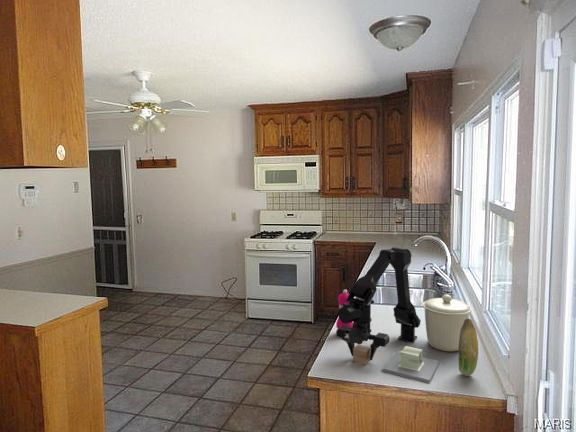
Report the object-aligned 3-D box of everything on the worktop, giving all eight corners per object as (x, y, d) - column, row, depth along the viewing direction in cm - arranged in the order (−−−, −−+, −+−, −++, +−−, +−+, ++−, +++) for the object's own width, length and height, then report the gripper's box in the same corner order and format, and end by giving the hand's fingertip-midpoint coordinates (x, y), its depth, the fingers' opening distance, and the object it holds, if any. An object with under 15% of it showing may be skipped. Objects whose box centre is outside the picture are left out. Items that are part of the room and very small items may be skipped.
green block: (405, 359, 149) (405, 346, 148) (422, 363, 146) (422, 349, 145) (400, 365, 144) (400, 352, 143) (417, 369, 141) (418, 356, 140)
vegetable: (479, 375, 139) (482, 318, 137) (473, 383, 134) (476, 324, 132) (461, 370, 143) (463, 314, 141) (454, 376, 138) (457, 319, 136)
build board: (395, 353, 156) (395, 351, 156) (439, 363, 148) (439, 360, 148) (382, 371, 142) (382, 368, 142) (429, 382, 134) (429, 379, 134)
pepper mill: (340, 339, 170) (340, 292, 168) (333, 333, 177) (333, 288, 175) (356, 337, 172) (356, 291, 170) (349, 331, 179) (349, 286, 177)
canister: (466, 339, 169) (468, 290, 167) (473, 358, 152) (476, 303, 149) (420, 335, 174) (421, 287, 172) (422, 353, 156) (424, 299, 154)
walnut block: (357, 356, 154) (358, 344, 153) (370, 359, 151) (370, 346, 151) (353, 362, 149) (353, 349, 149) (366, 365, 147) (366, 352, 146)
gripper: (329, 319, 147) (329, 360, 148) (380, 328, 137) (379, 373, 139) (342, 310, 156) (341, 349, 158) (390, 318, 146) (389, 360, 148)
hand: (362, 357), depth 150 cm, fingers open, 7 cm apart
